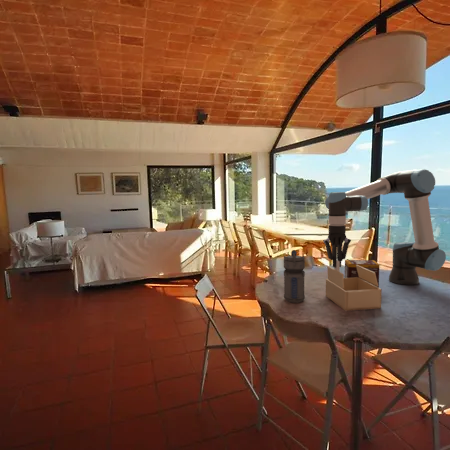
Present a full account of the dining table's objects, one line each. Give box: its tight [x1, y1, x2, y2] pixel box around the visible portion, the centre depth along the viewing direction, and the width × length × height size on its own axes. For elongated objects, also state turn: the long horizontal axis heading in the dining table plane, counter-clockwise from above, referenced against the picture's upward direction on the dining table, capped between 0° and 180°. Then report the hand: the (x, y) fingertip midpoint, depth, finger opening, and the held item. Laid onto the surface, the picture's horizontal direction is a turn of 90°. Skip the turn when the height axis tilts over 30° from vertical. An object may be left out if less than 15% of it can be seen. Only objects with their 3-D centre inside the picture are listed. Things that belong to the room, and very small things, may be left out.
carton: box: [325, 277, 383, 312], centre depth 145 cm, size 17×21×9 cm
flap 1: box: [326, 265, 345, 288], centre depth 143 cm, size 1×16×7 cm, turn 6°
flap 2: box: [356, 265, 378, 286], centre depth 145 cm, size 1×16×7 cm, turn 5°
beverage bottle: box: [283, 249, 306, 304], centre depth 149 cm, size 10×13×25 cm
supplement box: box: [344, 259, 380, 288], centre depth 162 cm, size 10×15×16 cm
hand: (336, 273), depth 143 cm, fingers closed
